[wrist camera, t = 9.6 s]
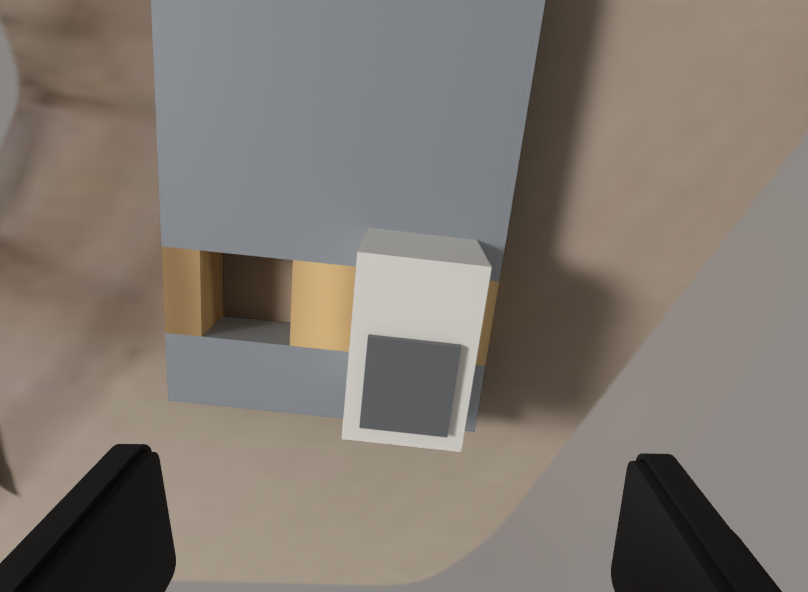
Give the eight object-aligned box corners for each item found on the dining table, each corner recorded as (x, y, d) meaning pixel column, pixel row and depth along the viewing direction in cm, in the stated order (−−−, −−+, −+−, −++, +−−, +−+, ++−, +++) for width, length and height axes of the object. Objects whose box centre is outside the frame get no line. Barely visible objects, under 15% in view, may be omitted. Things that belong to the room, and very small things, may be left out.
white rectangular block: (476, 239, 24) (492, 269, 19) (453, 393, 26) (461, 456, 21) (369, 227, 24) (356, 253, 19) (355, 383, 26) (340, 442, 21)
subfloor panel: (537, -32, 23) (554, -55, 20) (469, 403, 30) (474, 431, 27) (180, -71, 23) (147, -100, 20) (192, 374, 30) (168, 400, 27)
